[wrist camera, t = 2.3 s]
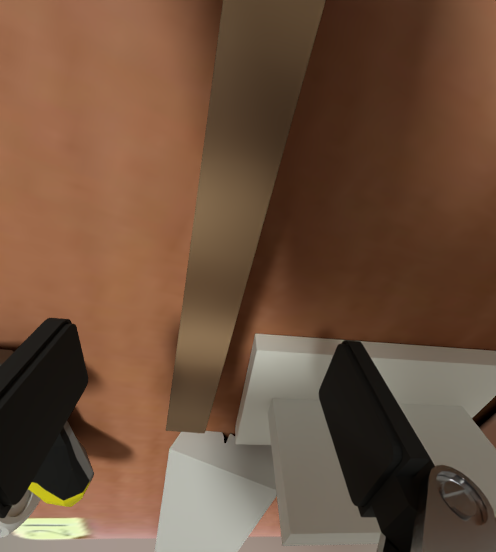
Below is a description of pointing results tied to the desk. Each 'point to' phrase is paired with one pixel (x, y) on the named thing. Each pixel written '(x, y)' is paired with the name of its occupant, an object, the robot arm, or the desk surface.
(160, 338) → the desk surface
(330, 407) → the robot arm
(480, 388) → the stand
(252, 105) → the walnut batten
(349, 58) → the desk surface
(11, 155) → the desk surface
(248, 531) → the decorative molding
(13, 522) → the die
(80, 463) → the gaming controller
